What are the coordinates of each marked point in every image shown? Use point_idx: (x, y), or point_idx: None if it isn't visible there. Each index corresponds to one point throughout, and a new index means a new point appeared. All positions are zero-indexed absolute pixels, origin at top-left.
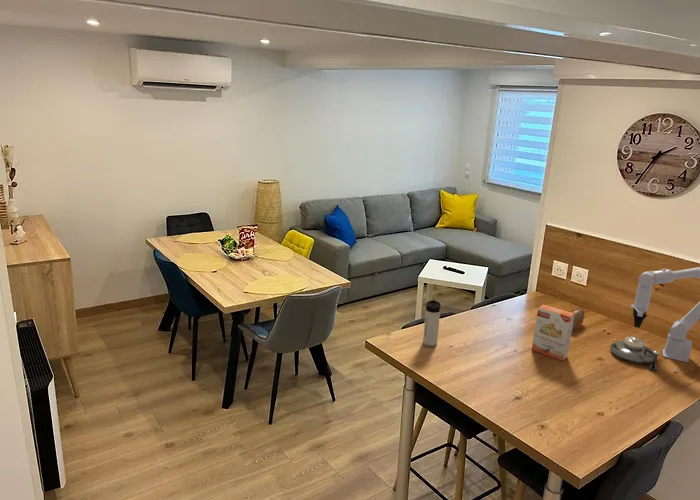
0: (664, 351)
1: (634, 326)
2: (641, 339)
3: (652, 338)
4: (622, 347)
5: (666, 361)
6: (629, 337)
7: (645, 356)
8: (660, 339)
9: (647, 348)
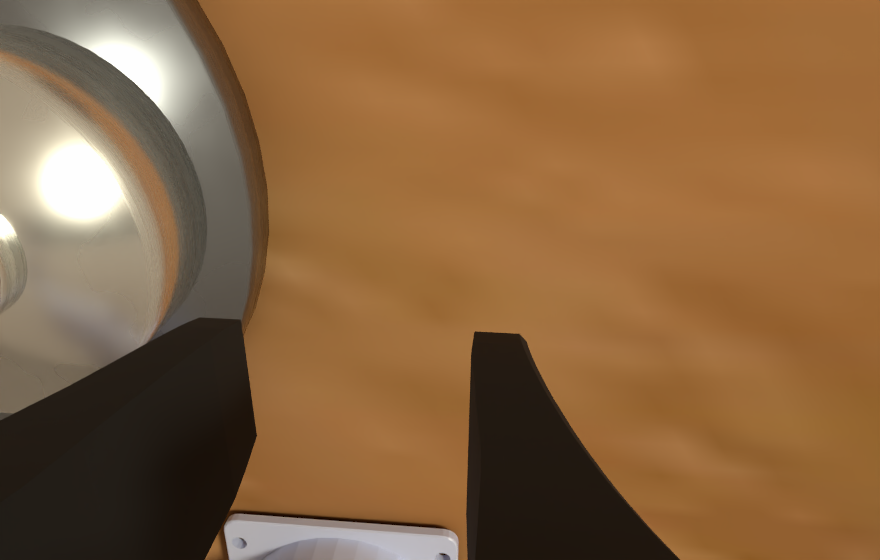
0: (329, 551)
1: (193, 322)
2: None
3: (839, 449)
4: None
5: None
6: (34, 147)
7: None
8: (842, 534)
9: None
